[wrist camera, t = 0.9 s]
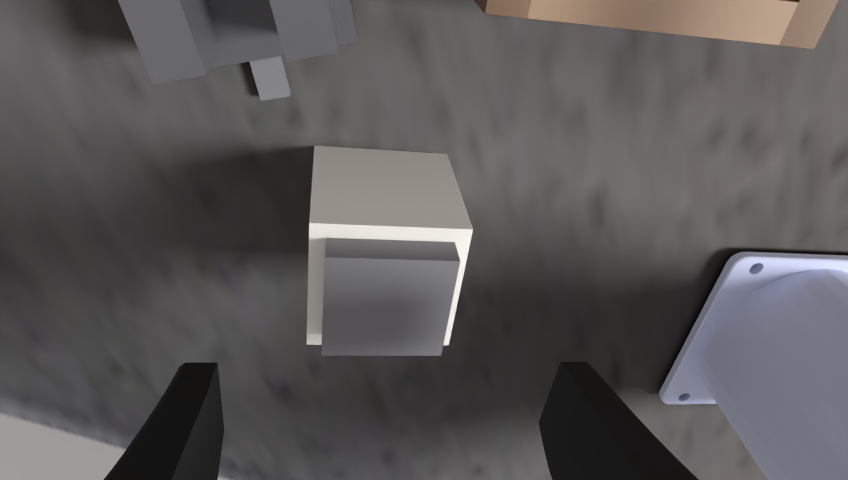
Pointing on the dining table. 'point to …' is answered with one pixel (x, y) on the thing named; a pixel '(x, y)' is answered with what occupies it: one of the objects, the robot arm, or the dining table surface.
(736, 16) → the frame
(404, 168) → the white boxy piece
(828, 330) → the robot arm
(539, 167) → the dining table surface
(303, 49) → the clip
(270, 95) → the strip
